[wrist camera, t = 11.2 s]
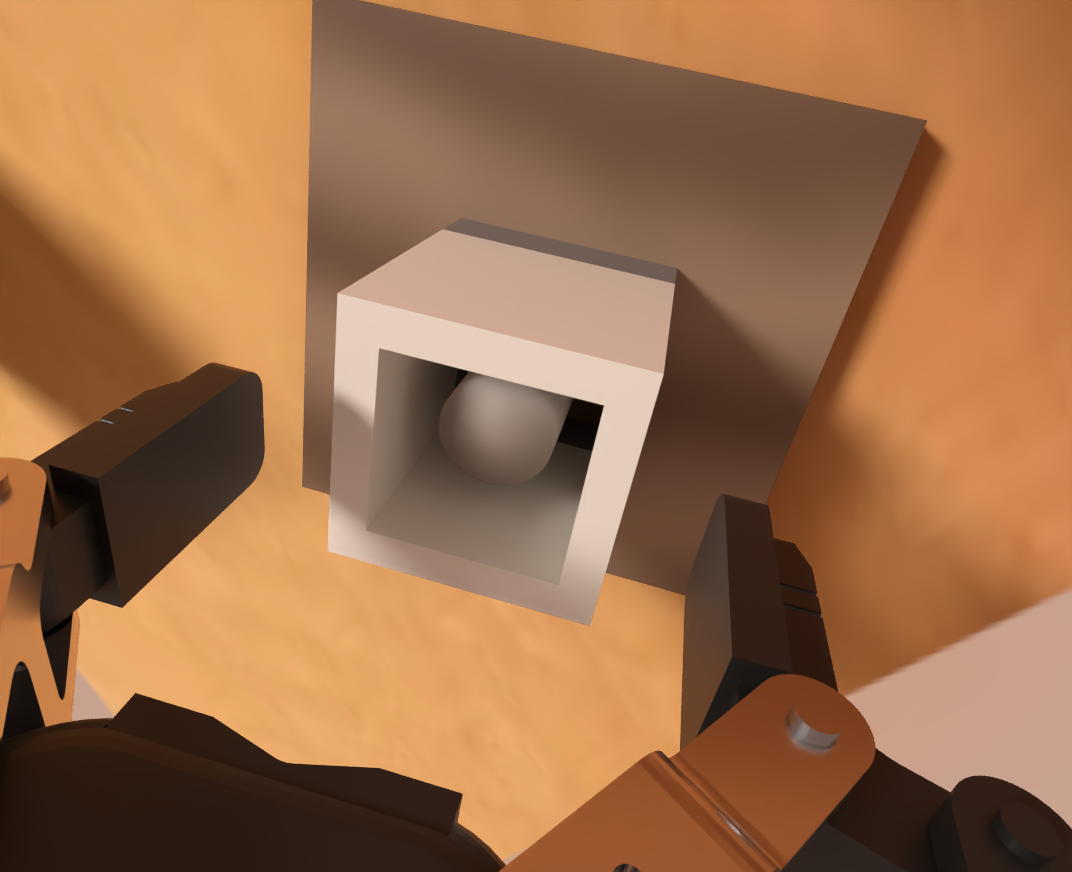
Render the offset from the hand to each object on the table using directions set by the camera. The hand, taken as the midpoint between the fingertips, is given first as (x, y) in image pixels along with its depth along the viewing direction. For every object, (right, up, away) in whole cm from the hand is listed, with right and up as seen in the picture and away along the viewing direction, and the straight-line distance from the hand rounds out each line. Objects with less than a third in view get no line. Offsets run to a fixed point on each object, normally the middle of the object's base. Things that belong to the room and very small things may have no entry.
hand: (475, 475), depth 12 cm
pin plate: (+2, +4, +8) cm, 9 cm away
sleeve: (+1, +3, +7) cm, 8 cm away
